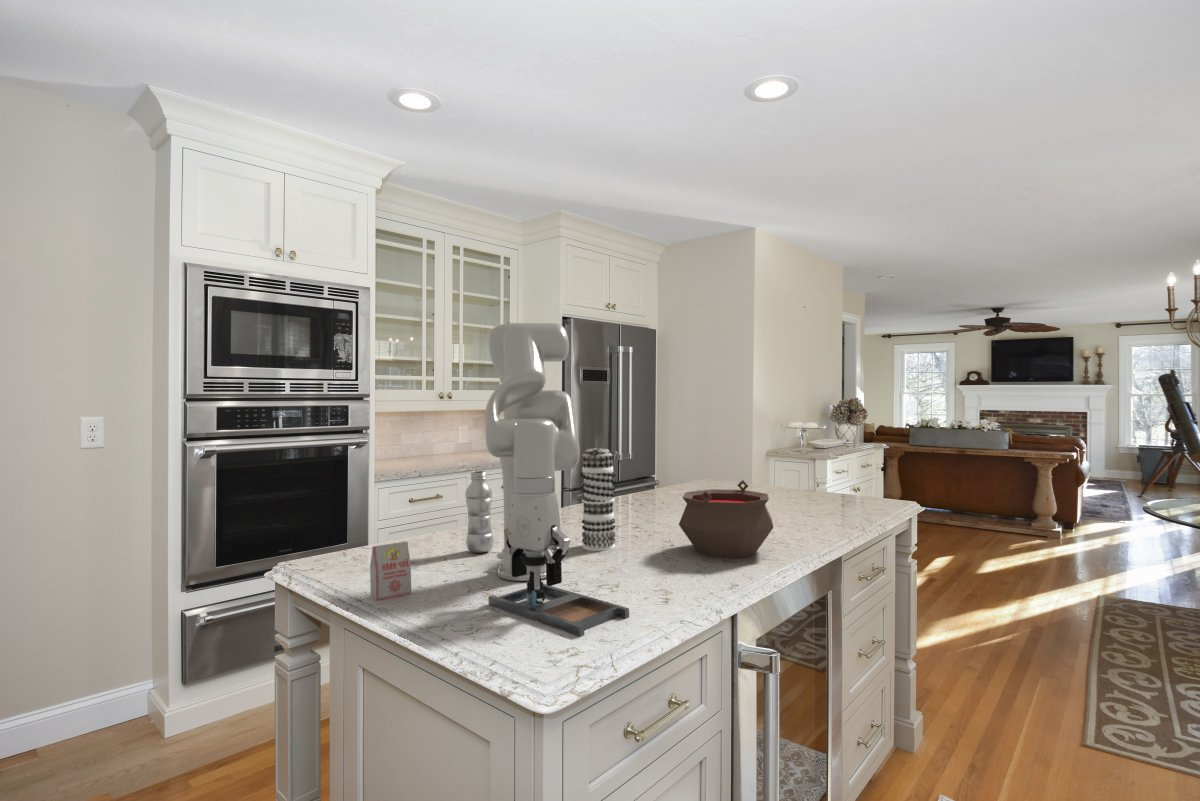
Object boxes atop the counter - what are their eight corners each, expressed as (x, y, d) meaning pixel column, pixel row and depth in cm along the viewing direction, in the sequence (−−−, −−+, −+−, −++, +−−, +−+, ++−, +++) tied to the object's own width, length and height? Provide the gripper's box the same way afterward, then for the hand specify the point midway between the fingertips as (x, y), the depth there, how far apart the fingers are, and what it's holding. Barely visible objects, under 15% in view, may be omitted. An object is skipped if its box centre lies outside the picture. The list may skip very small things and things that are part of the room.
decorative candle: (589, 552, 155) (587, 451, 155) (575, 545, 164) (574, 448, 163) (622, 548, 159) (621, 449, 159) (607, 541, 167) (606, 447, 167)
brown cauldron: (704, 536, 172) (703, 476, 172) (791, 547, 158) (790, 482, 158) (659, 555, 152) (658, 487, 152) (754, 569, 138) (752, 494, 138)
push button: (554, 607, 115) (554, 552, 115) (525, 611, 113) (525, 555, 113) (545, 597, 121) (545, 545, 121) (518, 600, 119) (517, 547, 119)
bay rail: (488, 604, 117) (488, 596, 117) (537, 589, 126) (537, 582, 126) (579, 636, 101) (579, 627, 101) (629, 616, 109) (629, 608, 109)
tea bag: (370, 596, 123) (369, 544, 123) (404, 589, 127) (404, 539, 127) (376, 600, 120) (375, 548, 120) (411, 593, 124) (410, 543, 124)
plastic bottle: (491, 555, 154) (489, 473, 154) (463, 555, 154) (462, 473, 154) (495, 548, 161) (494, 470, 161) (469, 549, 161) (468, 470, 161)
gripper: (489, 485, 120) (491, 576, 119) (551, 491, 108) (552, 592, 108) (520, 482, 125) (522, 569, 125) (582, 487, 113) (584, 583, 113)
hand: (536, 579), depth 116 cm, fingers open, 9 cm apart
